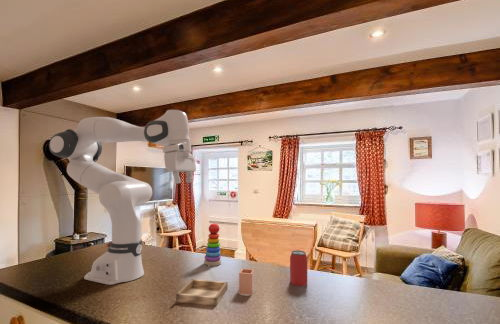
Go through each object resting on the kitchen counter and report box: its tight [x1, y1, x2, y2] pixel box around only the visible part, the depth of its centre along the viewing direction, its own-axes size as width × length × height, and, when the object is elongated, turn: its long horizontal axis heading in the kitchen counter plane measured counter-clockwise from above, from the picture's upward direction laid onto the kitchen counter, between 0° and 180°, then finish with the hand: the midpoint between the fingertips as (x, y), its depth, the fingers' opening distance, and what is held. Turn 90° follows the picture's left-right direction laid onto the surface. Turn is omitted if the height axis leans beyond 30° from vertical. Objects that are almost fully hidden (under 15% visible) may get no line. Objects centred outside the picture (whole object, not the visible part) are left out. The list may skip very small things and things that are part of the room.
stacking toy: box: [203, 222, 222, 267], centre depth 124 cm, size 8×8×19 cm
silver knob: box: [237, 288, 257, 297], centre depth 93 cm, size 6×6×6 cm
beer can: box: [289, 249, 308, 287], centre depth 101 cm, size 7×7×12 cm
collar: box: [238, 268, 255, 296], centre depth 93 cm, size 5×5×7 cm
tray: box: [175, 278, 229, 307], centre depth 90 cm, size 14×13×3 cm
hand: (183, 183), depth 105 cm, fingers open, 8 cm apart
